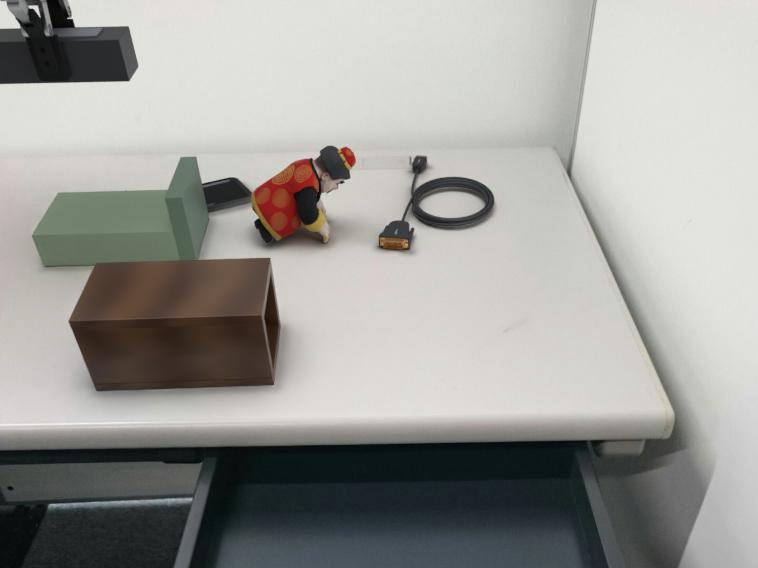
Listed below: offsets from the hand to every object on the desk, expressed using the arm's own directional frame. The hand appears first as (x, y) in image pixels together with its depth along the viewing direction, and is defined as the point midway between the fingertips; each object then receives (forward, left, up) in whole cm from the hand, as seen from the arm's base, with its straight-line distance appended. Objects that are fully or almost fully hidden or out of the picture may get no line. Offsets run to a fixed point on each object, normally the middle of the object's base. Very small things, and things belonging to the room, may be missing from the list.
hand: (62, 69), depth 78 cm
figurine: (+24, +3, -20) cm, 32 cm away
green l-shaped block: (+1, +2, -20) cm, 20 cm away
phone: (+8, +13, -21) cm, 26 cm away
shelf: (+13, -25, -20) cm, 35 cm away
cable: (+43, +10, -20) cm, 49 cm away
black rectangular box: (0, 0, -1) cm, 1 cm away
